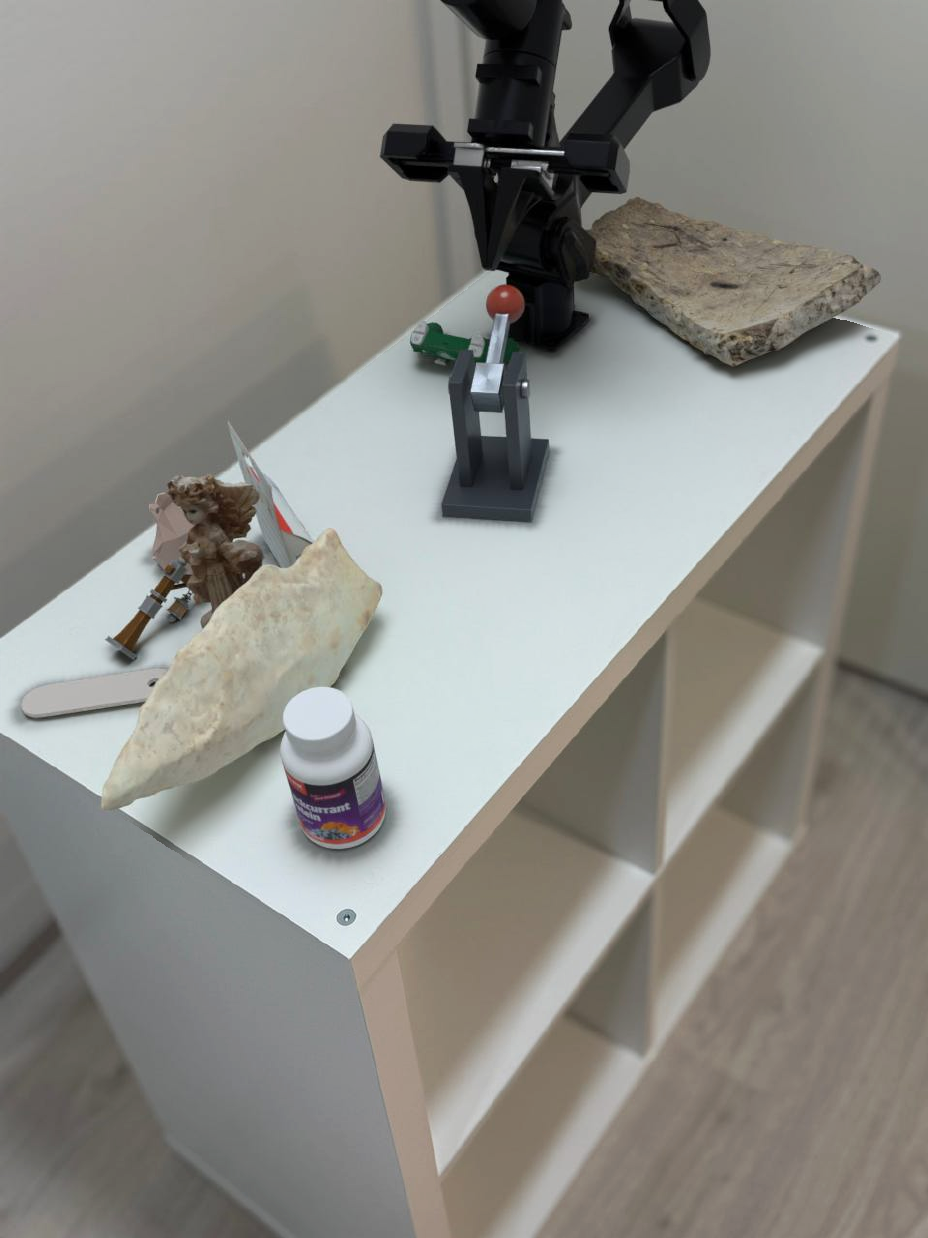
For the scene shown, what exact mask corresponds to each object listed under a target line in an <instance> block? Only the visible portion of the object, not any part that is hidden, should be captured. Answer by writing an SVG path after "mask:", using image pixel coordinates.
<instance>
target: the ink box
mask: <svg viewBox="0 0 928 1238" xmlns="http://www.w3.org/2000/svg"><path fill="white" fill-rule="evenodd" d="M226 423H227V426H228V429H229V433H230V438H231V440H232V445H233V447H234V451H235V453H236V457H237V461H238V465H239V468H240V471H241V474H242V478H243V480H244V483H246V484H252V485H254V486H253V488H254V489H256V491H257V492H258V493H259V500H258V502H257V503H256V504H254V505H252V506H254V507H255V509H256V511H257V512H256V514H255V517H256V519H257V522H258V526H259V528H260V531H261V534H262V538H263V540H264V542H265V543H266V545H267V547H268V548H269V550H270V552H271V554H273V557H274V558H275V560H276V562H277V564H278V565H279V567H280V568H288V567H290V566H292V565H293V564H294V563H295V562H296V560H297V559H298V558H299V557H301V555H302V553H303V551H304V549H305V548H306V547H307V546H309V545H311V544H312V543H314V542H315V541H314V540H313V538H312V537H311V536H310V533H309V532H308V531H307V530H306V528H305V526H304V525H303V523H302V522H301V520H300V519H299V517H298V516H297V515H296V513H295V511H294V510H293V509H292V507H291V505H290V504H289V503H288V501H287V500H286V498H285V497H284V495H283V494H282V492H281V490H280V488H279V486H278V485H277V484H276V482H274V481H273V479H271V477H269V476H268V475H267V474H266V473H264V472H263V471H262V470H261V468H260V467H259V465H258V464H257V462H256V460H255V459H254V458H253V456H252V455H251V453H250V452H249V450H248V448H247V447H246V446H245V444H244V443H243V440H241V438H240V436H239V435H238V434H237V432H236V430H235V429H234V427H233V425H232V424H231V423H230V420H227V422H226ZM245 456H246V458H247V459H248V458H249V460H250V463H251V465H252V466H250V465H249V463H247V460H246V458H245Z"/></svg>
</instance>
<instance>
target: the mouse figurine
mask: <svg viewBox="0 0 928 1238" xmlns="http://www.w3.org/2000/svg"><path fill="white" fill-rule="evenodd" d="M170 497H171V495H170V496H169V495H168V494H167V492H162V493H158V494H157V495H156V498H155V501H154V502H153V503H149V506H148V508H149V509H148V510H149V512H150V513H151V515H152V516H153V520H154V522H155V524H156V529H155V537H154V541H153V544H152V550H151V559H153V560H155V562H156V563H157V564H158V565H159V566H160V567H161V569H162V570H163V571H164V572H165V570H164V569H165V567H166V566H167V565H168V564H169V565H170V564H171V562H172V560H175V561H178V559H179V558H180V557H181V552H180V551H179V549H180V547H181V546H182V545H183V544H184V543H185V542H186V541H187V538H188V532H189V530H190V529H191V528H192V527H194V526H195V525H192V524H191V523H190V522H188V521H187V519H186V518H185V516H184V512H183V510H182V509H181V507H180V506H177V505H175V503H173V502H171V499H170ZM184 567H185V568H187V569H188V571H187V572H186V573H185V574H184V575H191V576H192V575H193V571H192V568H191V565H190V564H189V563H187V565H186V566H184Z"/></svg>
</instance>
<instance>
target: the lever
mask: <svg viewBox="0 0 928 1238" xmlns="http://www.w3.org/2000/svg"><path fill="white" fill-rule="evenodd" d="M485 300H486V301H485V308H486V313H487V315H488V316H489V318H490V319H491V320H493V323H492V327H491V334H490V338H489V339H490V342H489V347H488V352H487V357H486V363H481V362H476V364H475V369H474V374H473V379H472V384H471V389H470V395H471V399H472V404H473V408H474V411H476V412H479V413H498V414H499V413H500V414H501V413H503V412H504V401H503V388H502V385H503V381H504V378H505V375H506V372H507V369H506V363H503V358H504V353H505V347H506V342H507V337H508V332H509V326H510V324H511V323H514V322H515V321H517V320H518V319H519V318H520V317H521V315H522V314H523V311H524V308H525V301H524V297H523V295H522V293H521V292H520V291H519V290H518V289H517V288H516V287H514V286H512V285H507V284H506V283H505V284H500V285H497V286H495V287H494V288H493V289H491V291H490V292H489V293H488V294H487V297H486V299H485Z"/></svg>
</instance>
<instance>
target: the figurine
mask: <svg viewBox="0 0 928 1238" xmlns="http://www.w3.org/2000/svg"><path fill="white" fill-rule="evenodd" d="M166 486H167V488H168V491H167V492H166V493H167V494H168V495H169V496H171V497H170V499H171V502H173V503H175V505H177V506H180V507H181V509H182V510H183V512H184V516H185V518H186V519H187V521H188V522H190V523H191V524H192V525H195V526H194V527H192V528H191V529H190V530H189V532H188V538H187V541H186V542H185V543H184V544H183V545H182V546H181V547H180V549H179V551H180V552H181V557H182V559H184V560H185V563H189V564H190V565H191V568H192V571H193V574H192V575H191V576H189V578H190V579H189V580H188V583H187V587H188V588H187V587H186V588H187V589H188V591H189V590H190V592H191V593H192V592H193V596H192V598H193V600H194V601H195V602H196V603H198V604H205V603H210V607H211V610H209V611H207V612H206V613H204V614H203V615H202V616H201V618H200V627H201V628H202V629H203V628H204V627H205V626H206V625H207V624H208V622H209V620H210V619H211V617H212V615H213V613H214V611H215V610H216V609H217V608H218V607H219V605H220V604H221V603H222V602H224V601H225V600H226V599H228V598H229V597H230V596H231V595H232V594H233V593H234V592H235V591H236V590H237V589H239V588H240V587H241V586H243V585H244V584H245V583H246V582H248V581H249V579H250V578H251V577H252V575H253V574H254V573H255V572H256V571H257V570H258V569H259V568H260V567H261V566H263V560H264V559H265V558H266V557H265V554H264V551H263V550H262V548H261V546H260V545H259V544H257V543H255V542H253V541H248V540H244V539H247V535H248V533H249V532H250V531H251V530H252V528H251V525H250V523H251V522H252V520H253V518H254V517H256V512H257V511H256V509H255V507H254V506H253V505H254V504H256V503H257V502H258V500H259V493H258V492H257V491H256V489H254V488H253V486H254V485H252V484H246V483H245V482H243V481H239V482H235V483H231V482H223V481H221V479H219V478H217V479H216V477H214V475H213V474H211V473H209V472H208V473H207V474H206V475H204V476H203V475H200V476H199V477H196V476H187V477H186V476H185V475H183V474H181V475H180V476H179V475H175V476H174V477H173V478H171V479H170V480H169V481H168V482H167V483H166ZM241 538H242V539H241ZM236 539H237V540H236ZM243 574H244V576H243Z"/></svg>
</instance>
